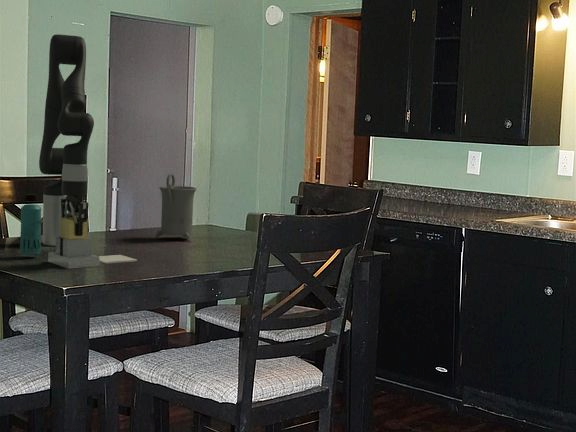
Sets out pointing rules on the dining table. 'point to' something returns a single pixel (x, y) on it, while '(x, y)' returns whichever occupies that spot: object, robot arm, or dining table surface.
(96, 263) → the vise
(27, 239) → the beverage bottle
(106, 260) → the pad
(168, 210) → the grey looped tall container
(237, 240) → the dining table surface
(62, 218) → the brass collar
